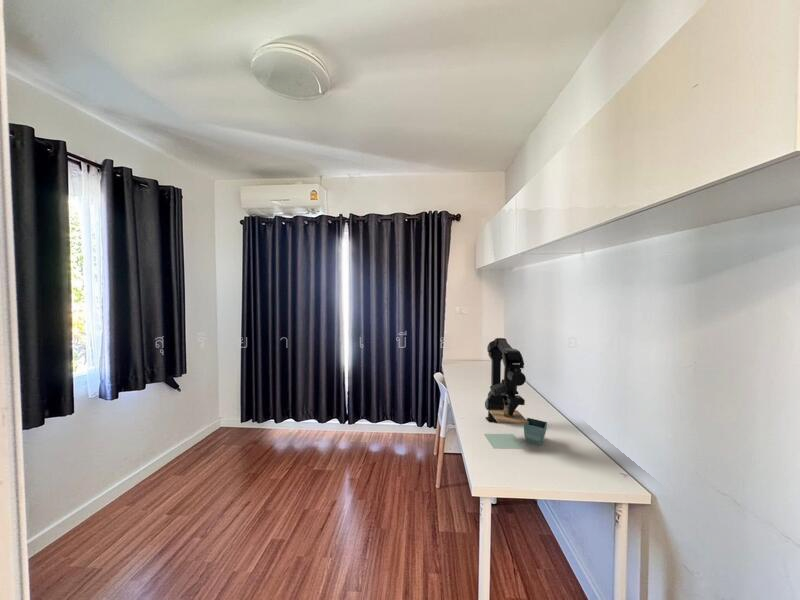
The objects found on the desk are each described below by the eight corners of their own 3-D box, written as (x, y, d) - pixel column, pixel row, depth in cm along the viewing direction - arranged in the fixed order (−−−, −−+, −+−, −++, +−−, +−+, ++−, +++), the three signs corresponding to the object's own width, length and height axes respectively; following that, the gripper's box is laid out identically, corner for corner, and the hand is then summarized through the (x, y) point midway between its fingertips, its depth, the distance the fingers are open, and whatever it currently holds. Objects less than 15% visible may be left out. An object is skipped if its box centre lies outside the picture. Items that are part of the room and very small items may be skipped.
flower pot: (546, 441, 154) (547, 421, 153) (543, 449, 146) (544, 428, 146) (526, 436, 158) (527, 417, 158) (522, 443, 151) (523, 423, 150)
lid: (489, 411, 157) (489, 401, 157) (517, 412, 158) (517, 402, 158) (498, 423, 144) (499, 412, 144) (528, 424, 145) (529, 413, 145)
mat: (483, 434, 158) (483, 433, 158) (513, 435, 159) (513, 434, 159) (493, 449, 144) (493, 448, 144) (525, 449, 145) (525, 448, 145)
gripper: (486, 372, 159) (484, 405, 160) (499, 384, 140) (497, 421, 141) (509, 373, 159) (507, 405, 160) (526, 385, 141) (524, 422, 142)
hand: (508, 413), depth 151 cm, fingers closed on lid, 4 cm apart
